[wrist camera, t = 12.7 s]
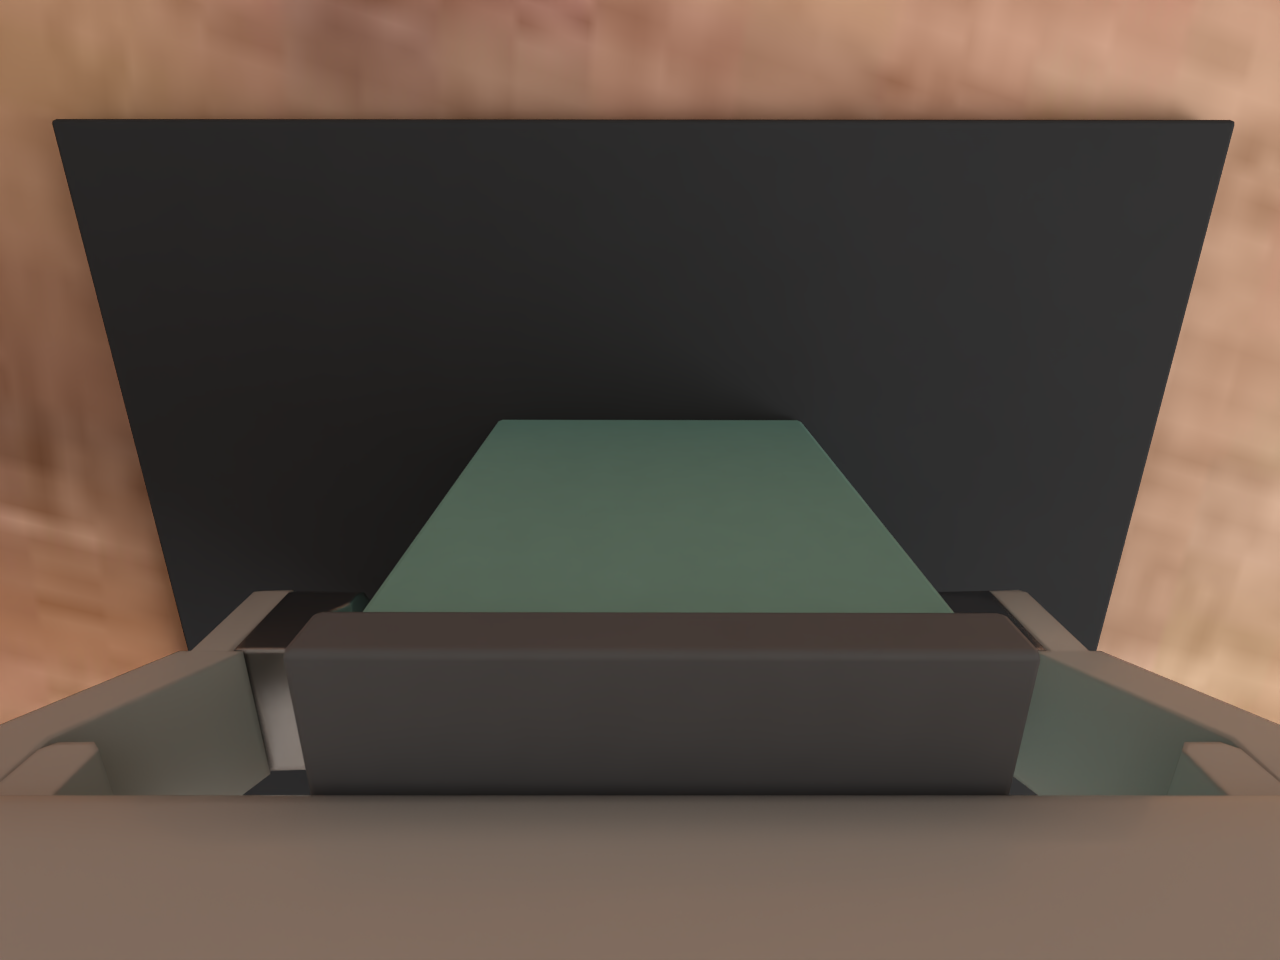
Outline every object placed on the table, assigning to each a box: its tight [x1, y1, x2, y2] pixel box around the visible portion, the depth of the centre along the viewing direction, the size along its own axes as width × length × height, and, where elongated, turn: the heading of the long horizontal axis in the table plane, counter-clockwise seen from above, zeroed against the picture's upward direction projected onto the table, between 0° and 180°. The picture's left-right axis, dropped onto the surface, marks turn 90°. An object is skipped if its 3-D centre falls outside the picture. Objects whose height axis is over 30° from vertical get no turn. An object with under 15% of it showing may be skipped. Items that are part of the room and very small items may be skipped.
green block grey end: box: [283, 420, 1040, 795], centre depth 9 cm, size 5×5×7 cm
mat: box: [52, 119, 1234, 795], centre depth 13 cm, size 17×14×1 cm
